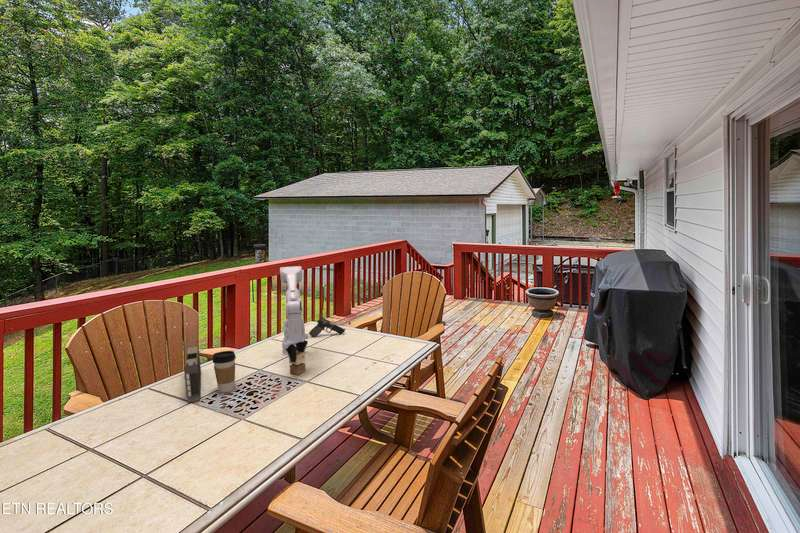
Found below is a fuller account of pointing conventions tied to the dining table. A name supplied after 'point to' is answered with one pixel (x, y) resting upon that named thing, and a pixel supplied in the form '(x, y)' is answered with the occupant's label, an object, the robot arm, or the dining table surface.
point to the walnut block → (297, 369)
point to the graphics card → (193, 374)
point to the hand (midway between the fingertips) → (297, 359)
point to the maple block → (298, 358)
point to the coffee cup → (225, 370)
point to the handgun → (322, 324)
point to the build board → (298, 376)
